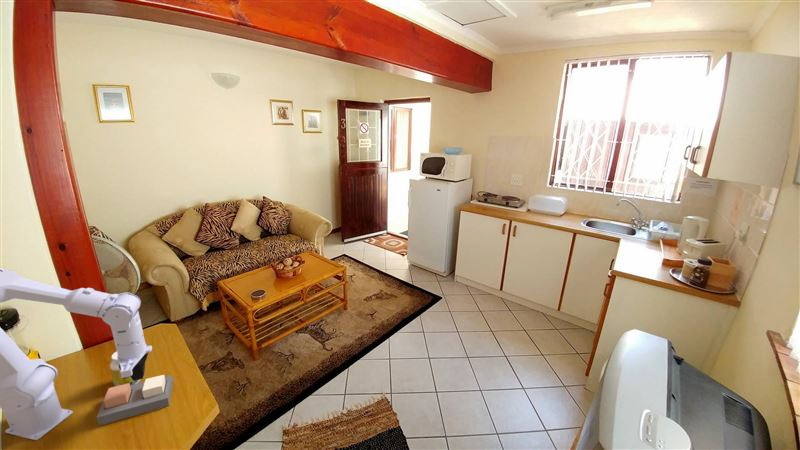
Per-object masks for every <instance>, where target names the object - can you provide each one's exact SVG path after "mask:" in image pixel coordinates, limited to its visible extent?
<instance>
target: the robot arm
mask: <svg viewBox="0 0 800 450" xmlns="http://www.w3.org/2000/svg"><path fill="white" fill-rule="evenodd" d="M13 299H15V300H16V299H17V300H23V301H24V300H25V301H31V302H39V303H46V304H54V305H60V306H63V307H64V309H65V310H66V311H67V312H69V313H74V314H81V315H86V316H90V317H95V318H101V319H102V321H103V322H104V323H105V324H107V325H109V327H110V329H111V332H112V337H113V340H114V341H113V342H114V344H115V348H116V351H117V353H118V355H117V358H118V361H119V369H121V371H120V374H121V378H124V377H129V376H130V377H131V378H132V379H133V381H135V380H139V379H140V380H142V379H143V380H144V376H145V371H146V369H145V368H146V361H147V359H148V356H149V355H148V354H149V353H150V352H152V349H153V346H152V345H147V343H146V340H145V336H144V335H145V334H144V331H143V326H142V321H141V317H140V312H139V308H140V307H141V304H142V300H141V299H140V297H139V296H138V295H136V294H133V293H131V292H121V293H108V292H104V291H103V292H102V291H99V290H95V289H94V288H92V287H87V288H85V287H80V288H77V289H73V290H71V289H68V288H64V287H59V286H56V285H53V284H48V283H44V282H40V281H37V280H33V279H30V278H26V277H22V276H21V275H19V274H18V273H17V272H16V271H15V270H11V269H4V268H2V267H0V304H1V303H4V302H7V301H10V300H13ZM58 373H59V372H58V369H57V367H55V366H54V365H52V364H48V363H47V362H45V361H44V360H43V359H42V358H34V359H33V358H32V359H30V358H29V356H27V355H26V354H25V353H24V352H23V350H22V349H21V348H20V347H19V346H18V345H17V344H16V342H15V341H13V339H12V338H11V337H10V336H9V334H7V333H6V331H5V330H4V329H2V328H1V326H0V409H1V410H2V411H3V415H4V417H5V420H6V421H7V424H8V428H7V429H5V433H6V434H10V435H13V436H17V437H21V438H25V439H28V440H29V439H30V440H33V441H38V440H40V439H41V438H42V437H43V436H45V435H46V434H47V433H49V432H50V431H51V430H53V429H54V428H55V427H56V426H57V425H59V424H60V423H62V422H63V421H64V420H66V419H67V418H69V417H70V416H71V415H72V414H73V413H74V411H73V410H71V409H67V408H62V406H61V403H60V401H59V397H58V394H57V391H56V389H55V382H54V381H55V380H56V378H57V377H58Z"/></svg>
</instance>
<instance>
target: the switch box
mask: <svg viewBox="0 0 800 450" xmlns="http://www.w3.org/2000/svg"><path fill="white" fill-rule="evenodd" d="M164 376H165V375H164ZM165 381H166V384H165V389H164V394H161V395H157V396H154V397H150V398H146V399H144V397H143V392H142V390H143V386H144V383H145V381H141V382H138V383H137V384H133V385H130V388H131V394H130V398H129V401H128V404H124V405H120V406H117V407H113V408H109V409H106V407H105V403H104V399H105V397H106V394H107V392H108V390H107V391H106V393H105V396H104V399H103V401H102V403H101V406H100V408H99V411H98V413H97V415H96V420H97V423H98V426H100V427H101V426H103V425H104V426H105V425H106V424H110V423H113V422H117V421H120V420H124V419H127V418H131V417H135V416H138V415H142V414H144V413H148V412H153V411H156V410H159V409H162V408H163V409H164V408H166V407H169V406H170V403H171V398H172V390H173V385H174V379H173V375H172V374H169V375H166V376H165Z"/></svg>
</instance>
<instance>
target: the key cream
mask: <svg viewBox="0 0 800 450" xmlns="http://www.w3.org/2000/svg"><path fill="white" fill-rule="evenodd" d="M144 380H145V381H144V382H145V383H144V386H143V390H142V392H143V397H144V399H146V398H150V397H154V396H157V395H161V394H164V389H165V384H166V381H165V374H161V375H157V376H152V377H148V378H145V379H144Z"/></svg>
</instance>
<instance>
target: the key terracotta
mask: <svg viewBox="0 0 800 450" xmlns="http://www.w3.org/2000/svg"><path fill="white" fill-rule="evenodd" d="M107 391H108V392H107ZM107 391H106V393H107V394H106V393H105V395H106V397H105V396H104V398H105V399H103V400H104V403H105V407H106V409H109V408H113V407H117V406H120V405H124V404H128V401H129V398H130V394H131V388H130V383H128V384H123V385H119V386H112V387H108V389H107Z"/></svg>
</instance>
